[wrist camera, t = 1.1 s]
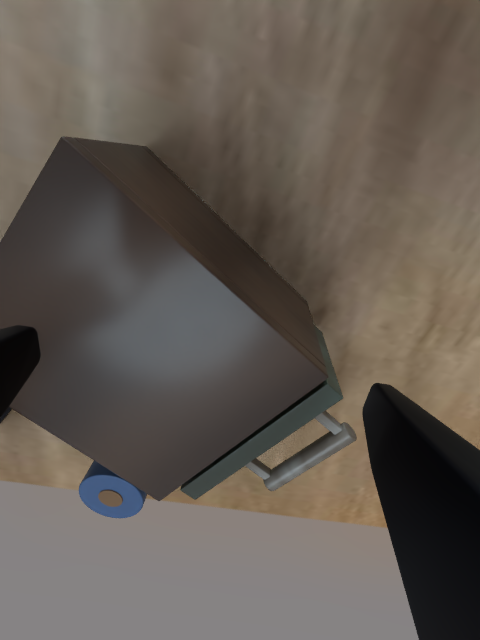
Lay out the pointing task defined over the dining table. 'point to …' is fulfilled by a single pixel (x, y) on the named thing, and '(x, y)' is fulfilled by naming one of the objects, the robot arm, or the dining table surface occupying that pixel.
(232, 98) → the dining table surface
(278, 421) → the drawer
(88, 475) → the towel roll
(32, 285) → the cabinet
